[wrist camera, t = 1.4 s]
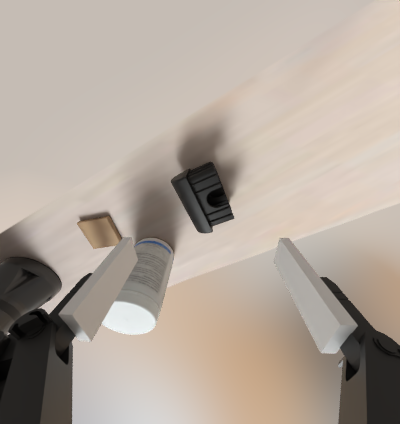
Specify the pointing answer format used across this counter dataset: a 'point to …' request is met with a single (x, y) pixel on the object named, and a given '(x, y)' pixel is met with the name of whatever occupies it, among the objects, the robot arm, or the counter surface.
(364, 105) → the counter surface
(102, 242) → the oak coaster
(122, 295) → the supplement tub
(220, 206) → the end cap
